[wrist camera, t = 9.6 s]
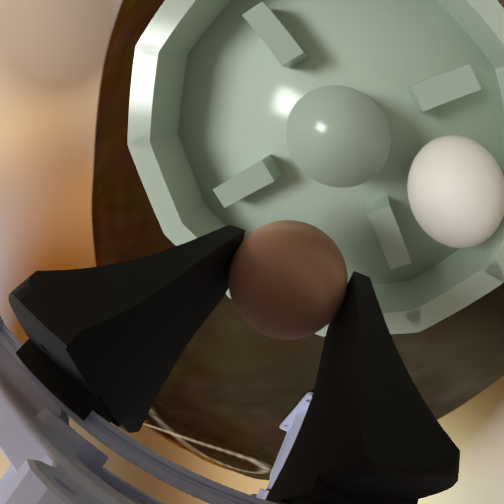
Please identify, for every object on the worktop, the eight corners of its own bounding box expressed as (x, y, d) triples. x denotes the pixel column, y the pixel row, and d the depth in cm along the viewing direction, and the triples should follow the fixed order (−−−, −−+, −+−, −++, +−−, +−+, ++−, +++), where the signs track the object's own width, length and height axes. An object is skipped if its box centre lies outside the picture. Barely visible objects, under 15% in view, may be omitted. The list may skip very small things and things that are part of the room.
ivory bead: (389, 195, 11) (393, 245, 8) (419, 110, 8) (444, 125, 5) (462, 229, 10) (485, 285, 7) (497, 153, 8) (541, 188, 5)
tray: (425, 333, 14) (428, 372, 12) (161, 231, 18) (132, 255, 16) (548, 52, 4) (580, 50, 1) (197, -52, 7) (163, -70, 5)
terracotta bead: (368, 226, 10) (364, 299, 6) (329, 303, 12) (309, 378, 9) (265, 187, 10) (214, 238, 7) (245, 268, 13) (201, 332, 10)
